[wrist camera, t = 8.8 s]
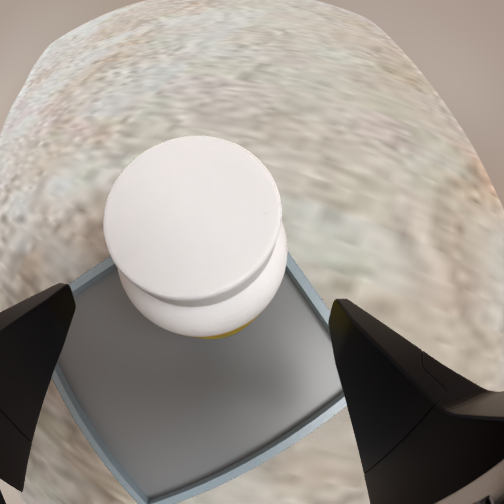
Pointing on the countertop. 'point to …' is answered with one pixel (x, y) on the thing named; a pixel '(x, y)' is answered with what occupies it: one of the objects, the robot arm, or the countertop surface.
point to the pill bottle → (197, 235)
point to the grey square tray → (194, 387)
